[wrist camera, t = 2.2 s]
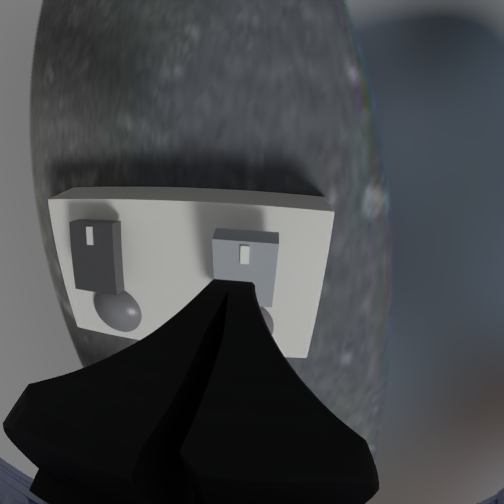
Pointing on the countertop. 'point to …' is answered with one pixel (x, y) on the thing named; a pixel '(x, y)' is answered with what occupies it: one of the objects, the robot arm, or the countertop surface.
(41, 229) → the countertop surface
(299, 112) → the countertop surface
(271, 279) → the block
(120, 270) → the block
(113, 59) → the countertop surface
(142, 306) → the switch panel
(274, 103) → the countertop surface
